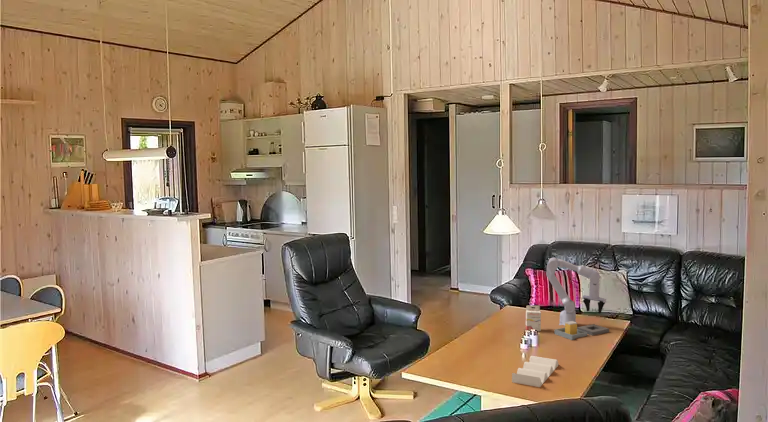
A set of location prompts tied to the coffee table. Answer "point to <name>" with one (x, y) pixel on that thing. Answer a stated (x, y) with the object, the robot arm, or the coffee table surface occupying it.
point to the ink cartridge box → (533, 318)
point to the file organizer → (535, 371)
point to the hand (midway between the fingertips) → (593, 312)
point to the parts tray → (572, 337)
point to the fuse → (571, 327)
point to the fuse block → (593, 329)
